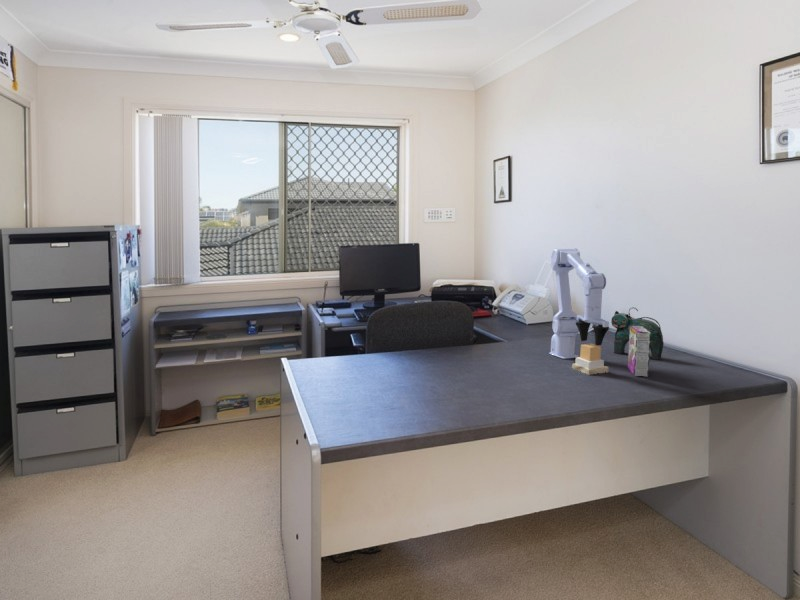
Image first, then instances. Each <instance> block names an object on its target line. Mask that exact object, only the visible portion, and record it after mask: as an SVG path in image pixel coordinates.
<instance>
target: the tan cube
mask: <svg viewBox="0 0 800 600" xmlns="http://www.w3.org/2000/svg"><path fill="white" fill-rule="evenodd" d="M601 352H602V346H601V345H596V344H594V343H586V344H585V343H584V344H580V353H579V354H580V355H579V357H580V358H582V359H585V360H588V361H595V360H600V359H601V355H602V353H601Z"/></svg>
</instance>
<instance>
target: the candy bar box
mask: <svg viewBox="0 0 800 600" xmlns="http://www.w3.org/2000/svg"><path fill="white" fill-rule="evenodd" d="M650 335H651V333H650V332H649V331H648V330H647V329H646V328H644V327H643V326H630V332H629V341H628V354H627V369H628V370H629V372H630V373H631V374H632V375H633V376H634V377H637V376H643V377H646V378H648V377H649V366H650V364H649V363H650V353H651V350H650ZM643 377H642V378H643Z"/></svg>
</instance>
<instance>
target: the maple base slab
mask: <svg viewBox="0 0 800 600" xmlns="http://www.w3.org/2000/svg"><path fill="white" fill-rule="evenodd" d="M572 368H573V369H572ZM571 369H572V370H575V371H577V370H578V371H577V372H580V371H581V372H580V373H582V374H585V373H586V374H585V375H588V376H590V375H597V373H599V374H605V372H606V373H609V366H606V365H604V367H599V368H592V369H587V368H585V367H582V366H579V365H576V364H575V363H572V364H571Z"/></svg>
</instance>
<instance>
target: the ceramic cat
mask: <svg viewBox="0 0 800 600" xmlns="http://www.w3.org/2000/svg"><path fill="white" fill-rule="evenodd" d="M632 309H634V310H636V311H637V312H639V310H638V309H637V307H634V306H633V307H630V308H629V310H628V314H627V313H624V312H621V313H620V312H619V311H618V310H615V312H614V314H613V316H612V317H611V325H612V327H613V328H615V329H616V330H615V333H614V341H613V354H618V355H623V354H624V353H625V349H626V345H627V343H629V332H630V326H643V327H644V328H646V329H647V330H648V331H649V332H650V333H651V335H650V353H651V359H652V360H656V359H659V360H661V359H660V358H662V355H663V349H664V343H665V342H664V335H663V332H662V329H661V325H660V322H659V321H658V320H656V319H655V318H652V317H647V316H643V317H642V316H641V317H637V318H635V317H633V316H631V314H630V311H631V310H632ZM655 322H656V323H655Z"/></svg>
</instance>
